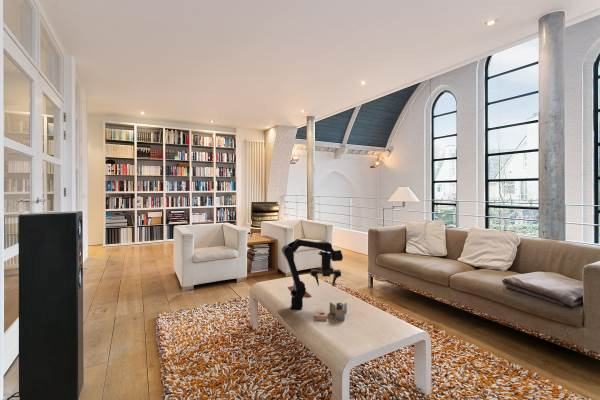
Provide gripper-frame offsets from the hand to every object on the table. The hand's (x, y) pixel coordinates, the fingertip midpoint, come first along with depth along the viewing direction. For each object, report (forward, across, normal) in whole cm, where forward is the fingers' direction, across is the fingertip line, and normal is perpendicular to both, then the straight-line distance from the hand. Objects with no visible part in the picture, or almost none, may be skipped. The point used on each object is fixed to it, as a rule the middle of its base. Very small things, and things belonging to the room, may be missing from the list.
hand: (325, 286), depth 193 cm
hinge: (+12, +7, -17) cm, 22 cm away
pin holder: (+12, -3, -20) cm, 24 cm away
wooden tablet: (+13, -18, +24) cm, 32 cm away
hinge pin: (+12, +7, -20) cm, 24 cm away
